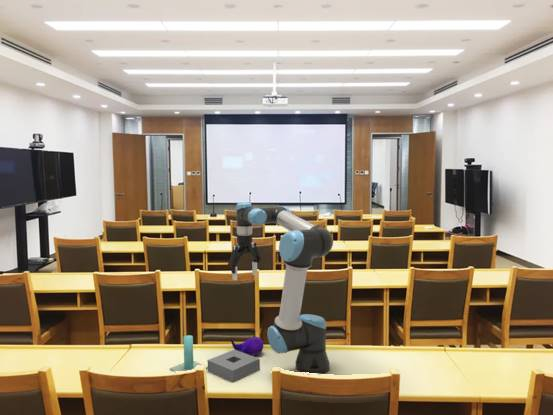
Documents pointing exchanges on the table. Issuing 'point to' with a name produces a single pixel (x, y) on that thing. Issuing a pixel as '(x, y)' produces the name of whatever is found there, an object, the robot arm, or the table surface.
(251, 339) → the toy
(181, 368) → the mat
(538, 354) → the table surface
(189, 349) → the plug
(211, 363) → the socket
